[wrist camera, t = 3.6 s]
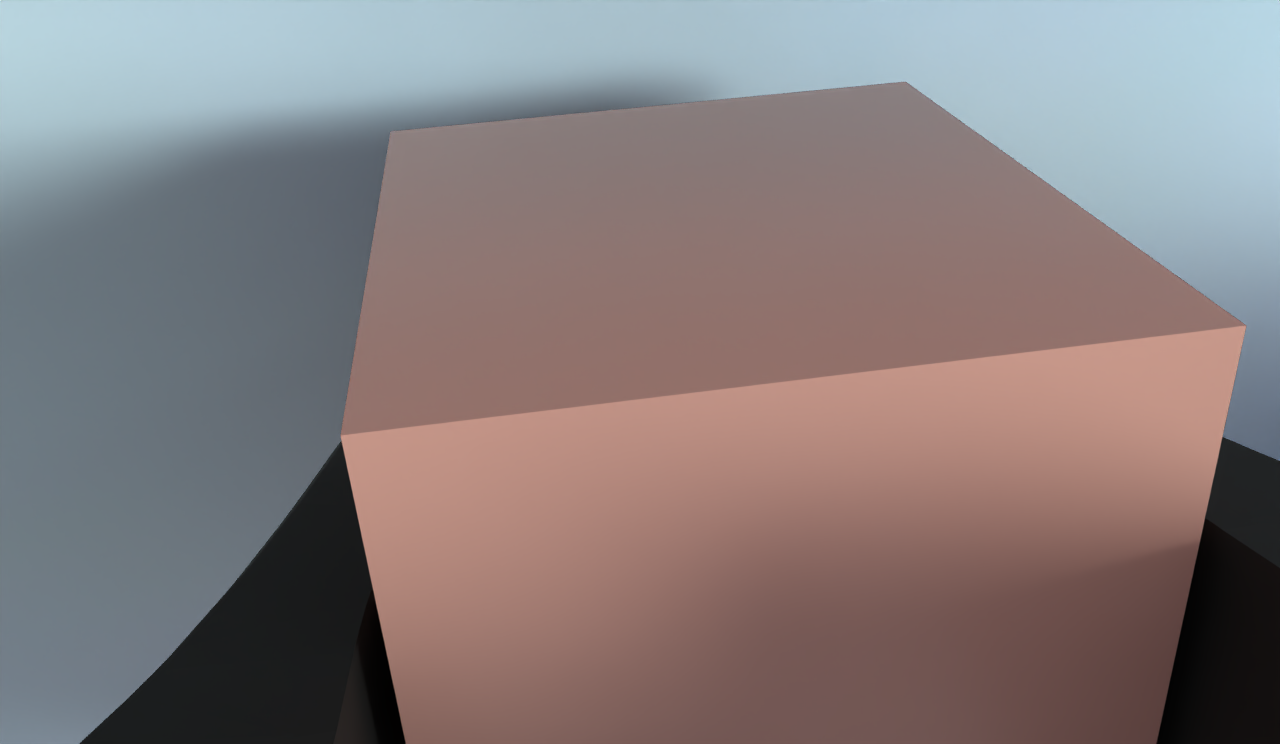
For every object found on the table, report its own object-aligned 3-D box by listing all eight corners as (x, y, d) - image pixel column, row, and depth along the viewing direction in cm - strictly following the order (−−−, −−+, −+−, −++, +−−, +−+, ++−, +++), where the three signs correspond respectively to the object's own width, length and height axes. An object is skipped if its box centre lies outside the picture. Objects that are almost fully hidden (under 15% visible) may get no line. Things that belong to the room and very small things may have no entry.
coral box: (905, 82, 10) (1247, 324, 6) (877, 611, 13) (1093, 1042, 9) (391, 131, 10) (339, 434, 5) (477, 668, 13) (492, 1152, 8)
